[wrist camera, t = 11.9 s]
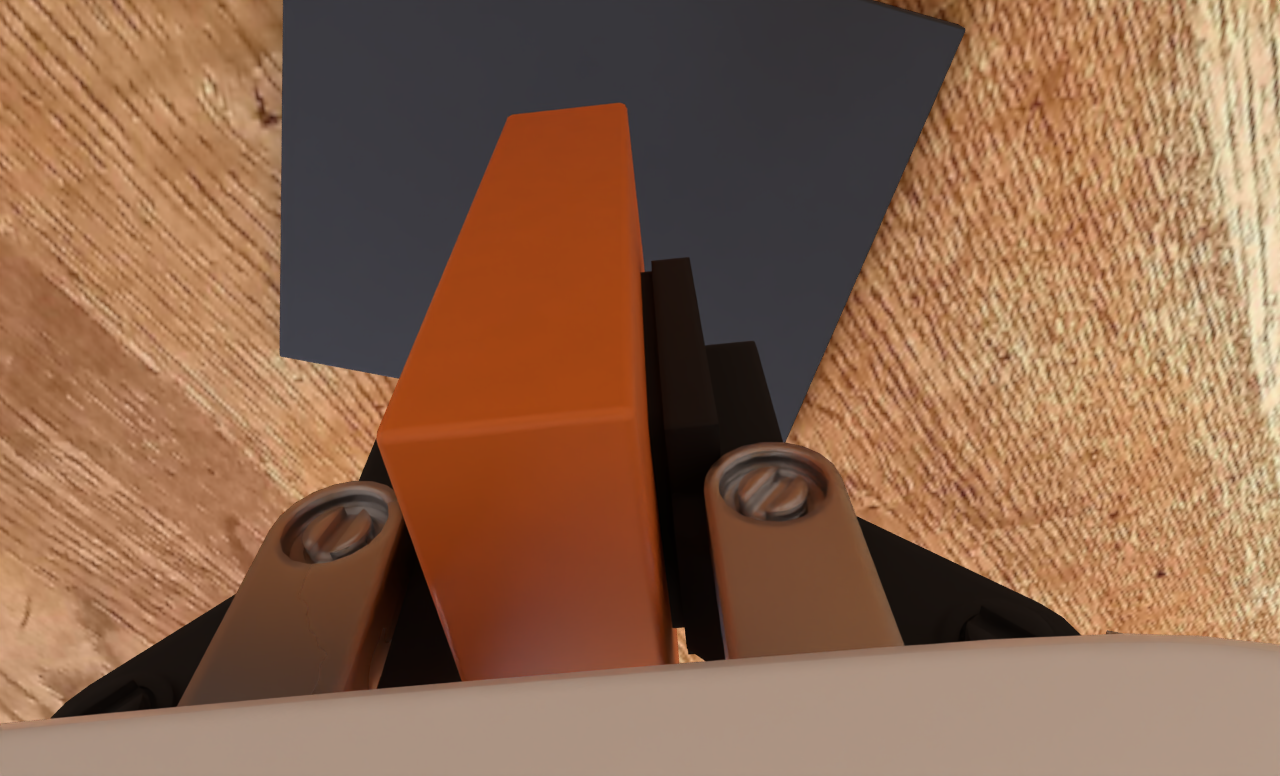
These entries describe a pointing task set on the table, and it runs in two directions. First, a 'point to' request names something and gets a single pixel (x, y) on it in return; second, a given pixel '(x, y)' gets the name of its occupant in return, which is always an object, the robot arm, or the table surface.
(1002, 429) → the table surface
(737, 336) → the mat
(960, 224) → the table surface
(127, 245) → the table surface
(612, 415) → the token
